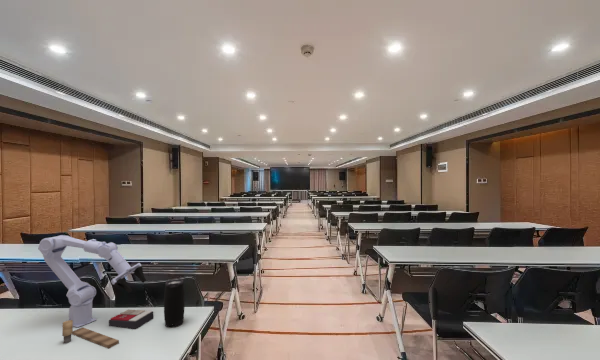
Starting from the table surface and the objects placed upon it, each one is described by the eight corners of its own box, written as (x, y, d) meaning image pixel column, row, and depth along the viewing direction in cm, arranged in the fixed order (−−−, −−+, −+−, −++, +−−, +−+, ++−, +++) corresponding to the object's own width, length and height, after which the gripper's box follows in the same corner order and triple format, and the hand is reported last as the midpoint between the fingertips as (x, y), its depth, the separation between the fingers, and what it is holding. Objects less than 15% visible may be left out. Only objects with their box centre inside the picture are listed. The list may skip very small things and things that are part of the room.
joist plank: (72, 334, 119) (72, 331, 119) (82, 329, 123) (82, 327, 123) (108, 348, 108) (108, 345, 108) (118, 343, 112) (118, 340, 112)
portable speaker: (185, 317, 134) (185, 277, 134) (183, 327, 125) (183, 283, 125) (165, 320, 131) (166, 279, 132) (162, 330, 122) (162, 285, 123)
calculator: (128, 308, 137) (153, 309, 134) (128, 317, 137) (154, 318, 133) (108, 318, 126) (135, 320, 123) (108, 328, 126) (135, 329, 123)
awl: (60, 342, 113) (60, 322, 113) (69, 338, 115) (70, 319, 116) (64, 344, 111) (65, 324, 111) (74, 340, 114) (74, 321, 114)
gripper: (108, 269, 123) (127, 292, 123) (136, 252, 136) (154, 273, 136) (102, 276, 126) (121, 298, 126) (130, 259, 139) (147, 280, 139)
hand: (137, 286), depth 131 cm, fingers open, 7 cm apart
